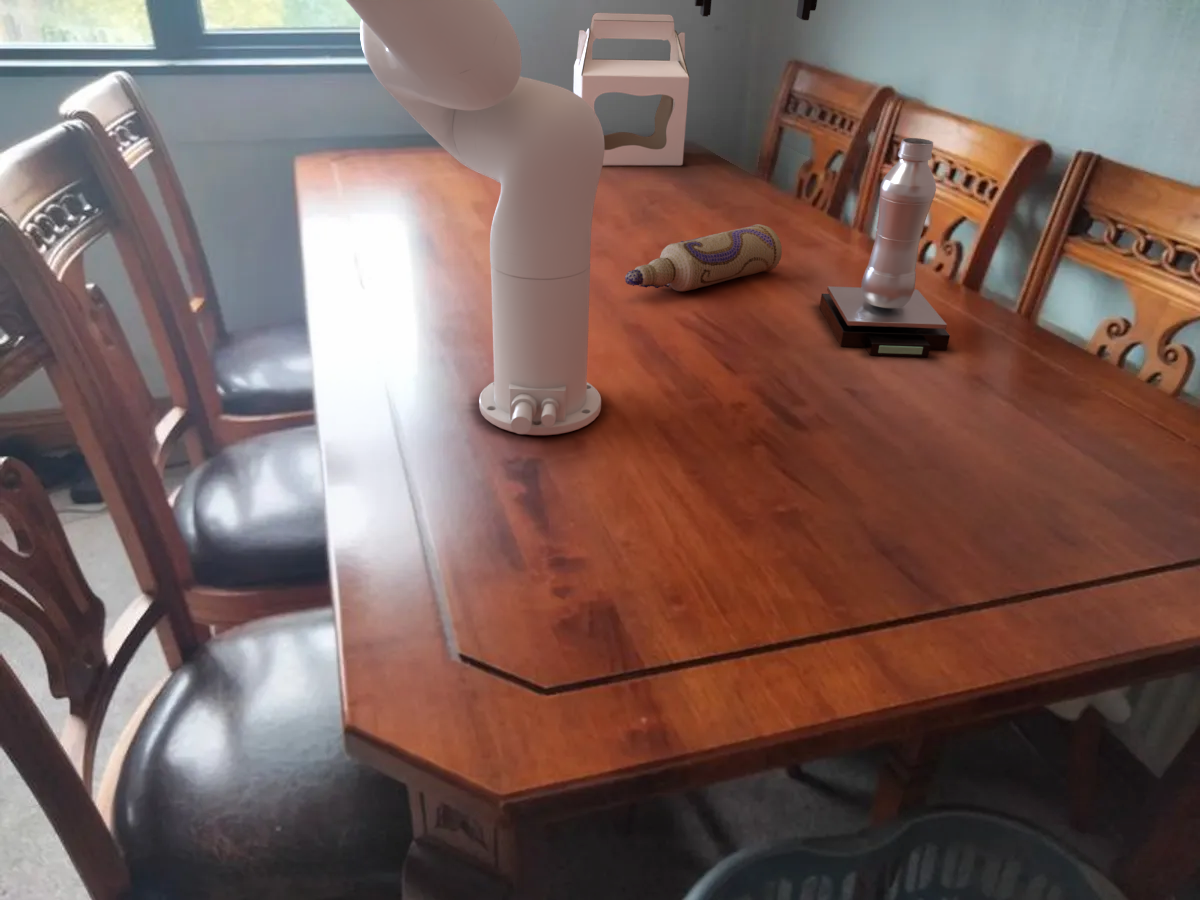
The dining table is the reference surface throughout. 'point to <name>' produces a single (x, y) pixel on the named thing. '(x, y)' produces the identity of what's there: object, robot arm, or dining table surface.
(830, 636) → the dining table surface
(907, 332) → the scale
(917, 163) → the plastic bottle
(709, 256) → the decorative bottle
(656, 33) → the gable box
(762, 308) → the dining table surface
